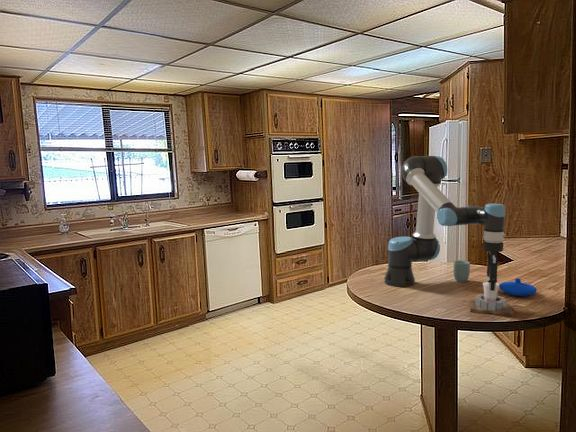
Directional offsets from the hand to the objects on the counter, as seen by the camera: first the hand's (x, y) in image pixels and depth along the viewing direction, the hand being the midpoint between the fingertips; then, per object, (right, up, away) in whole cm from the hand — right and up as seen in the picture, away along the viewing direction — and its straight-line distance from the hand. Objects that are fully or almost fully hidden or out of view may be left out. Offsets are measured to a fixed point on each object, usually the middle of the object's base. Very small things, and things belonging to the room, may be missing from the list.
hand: (490, 294), depth 184 cm
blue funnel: (+22, -4, +21) cm, 31 cm away
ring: (0, -5, +1) cm, 5 cm away
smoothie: (0, -5, +1) cm, 5 cm away
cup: (+5, -1, +43) cm, 44 cm away
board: (0, -6, +1) cm, 6 cm away
